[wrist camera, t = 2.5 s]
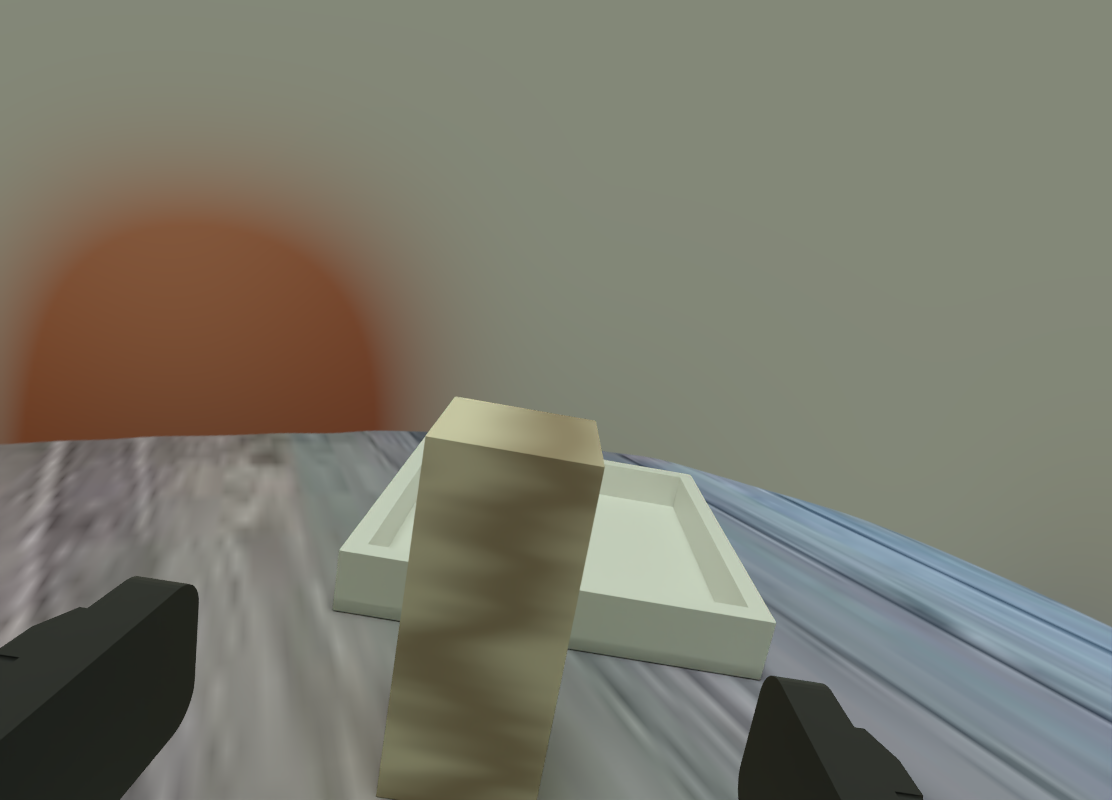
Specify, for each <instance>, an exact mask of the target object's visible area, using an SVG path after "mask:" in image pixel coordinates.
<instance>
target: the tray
mask: <svg viewBox="0 0 1112 800" xmlns="http://www.w3.org/2000/svg"><path fill="white" fill-rule="evenodd" d="M424 443H425V438H424V439H423V440H422V442H421V443H420V444H419V446H418V447H417V448H416V449H415V451H414V452H413V453H412V455H411V456H410V457H409V459H408V460H407V461H406V463H405V464H404V465H403V467H402V468H401V469H400V471H399V472H398V473H397V475H396V476H395V477H394V479H393V480H392V481H391V483H390V484H389V485H388V487H387V488H386V489H385V490H384V492H383V493H382V494H381V496H380V497H379V498H378V500H377V501H376V502H375V504H374V505H373V506H372V508H371V509H370V510H369V512H368V513H367V514H366V516H365V517H364V518H363V520H362V521H361V522H360V524H359V525H358V526H357V527H356V529H355V530H354V531H353V533H352V534H351V535H350V537H349V538H348V539H347V541H346V542H345V543H344V545H343V546H342V547H341V549H340V550H339V557H338V566H337V575H336V584H335V593H334V603H333V610H336V611H342V612H348V613H354V614H360V615H366V616H373V617H379V618H385V619H391V620H397V621H400V619H401V611H402V604H403V597H404V589H405V582H406V575H407V567H408V560H409V553H410V545H411V538H412V531H413V524H414V516H415V509H416V502H417V494H418V487H419V480H420V472H421V465H422V458H423V450H424ZM604 465H605V469H604V474H603V479H602V483H601V488H600V493H599V498H598V503H597V508H596V513H595V518H594V523H593V527H592V532H591V537H590V542H589V547H588V552H587V557H586V562H585V566H584V571H583V576H582V581H581V586H580V591H579V596H578V601H577V606H576V610H575V615H574V620H573V625H572V630H571V635H570V640H569V645H568V649H574V650H580V651H586V652H592V653H598V654H604V655H611V656H617V657H623V658H629V659H635V660H641V661H647V662H653V663H659V664H666V665H672V666H678V667H684V668H690V669H696V670H702V671H708V672H714V673H720V674H727V675H733V676H739V677H745V678H751V679H757V680H760V679H761V675H762V672H763V668H764V665H765V661H766V658H767V654H768V651H769V647H770V644H771V640H772V637H773V633H774V630H775V626H776V622H775V620H774V618H773V617H772V615H771V613H770V611H769V610H768V608H767V606H766V604H765V603H764V601H763V599H762V598H761V596H760V594H759V592H758V591H757V589H756V587H755V585H754V584H753V582H752V580H751V579H750V577H749V575H748V573H747V572H746V570H745V568H744V566H743V565H742V563H741V561H740V560H739V558H738V556H737V554H736V553H735V551H734V549H733V547H732V546H731V544H730V542H729V541H728V539H727V537H726V535H725V534H724V532H723V530H722V529H721V527H720V525H719V523H718V522H717V520H716V518H715V516H714V515H713V513H712V511H711V510H710V508H709V506H708V504H707V503H706V501H705V499H704V497H703V496H702V494H701V492H700V491H699V489H698V487H697V485H696V484H695V482H694V480H693V478H692V477H691V475H688V474H682V473H676V472H670V471H665V470H659V469H653V468H647V467H641V466H636V465H630V464H624V463H618V462H613V461H607V460H604Z"/></svg>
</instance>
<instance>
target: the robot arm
mask: <svg viewBox="0 0 1112 800" xmlns="http://www.w3.org/2000/svg"><path fill="white" fill-rule="evenodd" d="M198 606H199V598H198V592H197V589H196V588H195V587H194V586H193V585H190V584H185V583H178V582H172V581H165V580H159V579H152V578H146V577H139V576H135V577H132V578H129V579H128V580H126V581H124V582H123V583H122V584H120V585H119V586H117V587H116V588H115V589H113V590H112V591H111V592H109V593H108V594H106V595H105V596H104V597H102V598H101V599H100V600H98V601H97V602H95V603H94V604H93V605H91V606H90V607H88V608H82V607H79V608H76V609H74V610H72V611H69V612H67V613H64V614H62V615H59V616H57V617H54V618H52V619H49V620H47V621H44V622H42V623H40V624H37V625H35V626H32V627H31V628H29V629H28V630H26V631H25V632H23V633H22V634H20V635H19V636H17V637H16V638H14V639H13V640H12V641H10V642H9V643H7V644H6V645H4V646H3V647H1V648H0V800H120V799H121V798H122V796H123V795H124V794H125V793H126V792H127V790H128V789H129V788H130V787H131V785H132V784H133V783H134V782H135V781H136V779H137V778H138V777H139V776H140V775H141V773H142V772H143V771H144V770H145V769H146V767H147V766H148V765H149V764H150V763H151V761H152V760H153V759H154V758H155V756H156V755H157V754H158V753H159V752H160V750H161V749H162V748H163V747H164V746H165V744H166V743H167V742H168V741H169V740H170V738H171V737H172V736H173V734H174V733H175V732H176V730H177V729H178V727H179V726H180V724H181V722H182V720H183V718H184V716H185V714H186V712H187V709H188V707H189V704H190V701H191V698H192V694H193V689H194V681H195V663H196V644H197V625H198ZM738 799H739V800H923V795H922V793H921V792H920V790H919V789H918V787H917V786H916V784H915V783H914V781H913V780H912V778H911V777H910V776H909V774H908V773H907V771H906V770H905V768H904V767H903V765H902V764H901V762H900V761H899V760H898V759H897V758H896V757H895V756H894V755H893V754H892V753H891V752H889V751H888V750H887V749H886V748H885V747H884V746H883V745H882V744H881V743H879V742H878V741H877V740H876V739H875V738H874V737H873V736H872V735H871V734H870V733H868V732H867V731H866V730H865V729H862V728H855V727H854V726H853V725H852V723H851V721H850V720H849V718H848V717H847V715H846V713H845V712H844V710H843V709H842V707H841V706H840V704H839V702H838V701H837V699H836V698H835V696H834V694H833V693H832V691H831V690H830V689H829V687H827V686H826V685H825V684H822V683H816V682H809V681H803V680H796V679H790V678H783V677H777V676H769V677H767V678H766V680H765V681H764V683H763V685H762V687H761V691H760V694H759V698H758V702H757V705H756V709H755V713H754V717H753V721H752V724H751V728H750V732H749V736H748V740H747V743H746V747H745V751H744V755H743V758H742V762H741V766H740V771H739V780H738Z"/></svg>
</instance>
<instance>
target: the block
mask: <svg viewBox="0 0 1112 800" xmlns="http://www.w3.org/2000/svg"><path fill="white" fill-rule="evenodd" d="M604 469H605V465H604V460H603V455H602V450H601V445H600V440H599V435H598V430H597V425H596V421H593V420H587V419H581V418H575V417H570V416H563V415H558V414H552V413H547V412H541V411H536V410H530V409H523V408H518V407H512V406H507V405H501V404H495V403H490V402H484V401H478V400H473V399H467V398H460V397H455V398H454V399H453V401H452V402H451V403H450V404H449V406H448V407H447V409H446V410H445V411H444V412H443V414H442V415H441V416H440V418H439V419H438V420H437V422H436V423H435V424H434V426H433V427H432V428H431V429H430V431H429V432H428V433H427V435H426V436H425V443H424V450H423V458H422V465H421V472H420V480H419V487H418V494H417V502H416V509H415V516H414V524H413V531H412V538H411V545H410V553H409V560H408V567H407V575H406V582H405V589H404V597H403V604H402V611H401V619H400V626H399V633H398V641H397V648H396V655H395V662H394V670H393V677H392V684H391V692H390V699H389V706H388V714H387V721H386V728H385V736H384V743H383V750H382V758H381V765H380V772H379V779H378V787H377V794H376V796H377V797H383V798H389V799H396V800H537V796H538V791H539V786H540V781H541V776H542V772H543V767H544V762H545V757H546V752H547V747H548V742H549V737H550V733H551V728H552V723H553V718H554V713H555V708H556V703H557V698H558V693H559V689H560V684H561V679H562V674H563V669H564V664H565V659H566V654H567V650H568V645H569V640H570V635H571V630H572V625H573V620H574V615H575V610H576V606H577V601H578V596H579V591H580V586H581V581H582V576H583V571H584V566H585V562H586V557H587V552H588V547H589V542H590V537H591V532H592V527H593V523H594V518H595V513H596V508H597V503H598V498H599V493H600V488H601V483H602V479H603V474H604Z"/></svg>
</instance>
